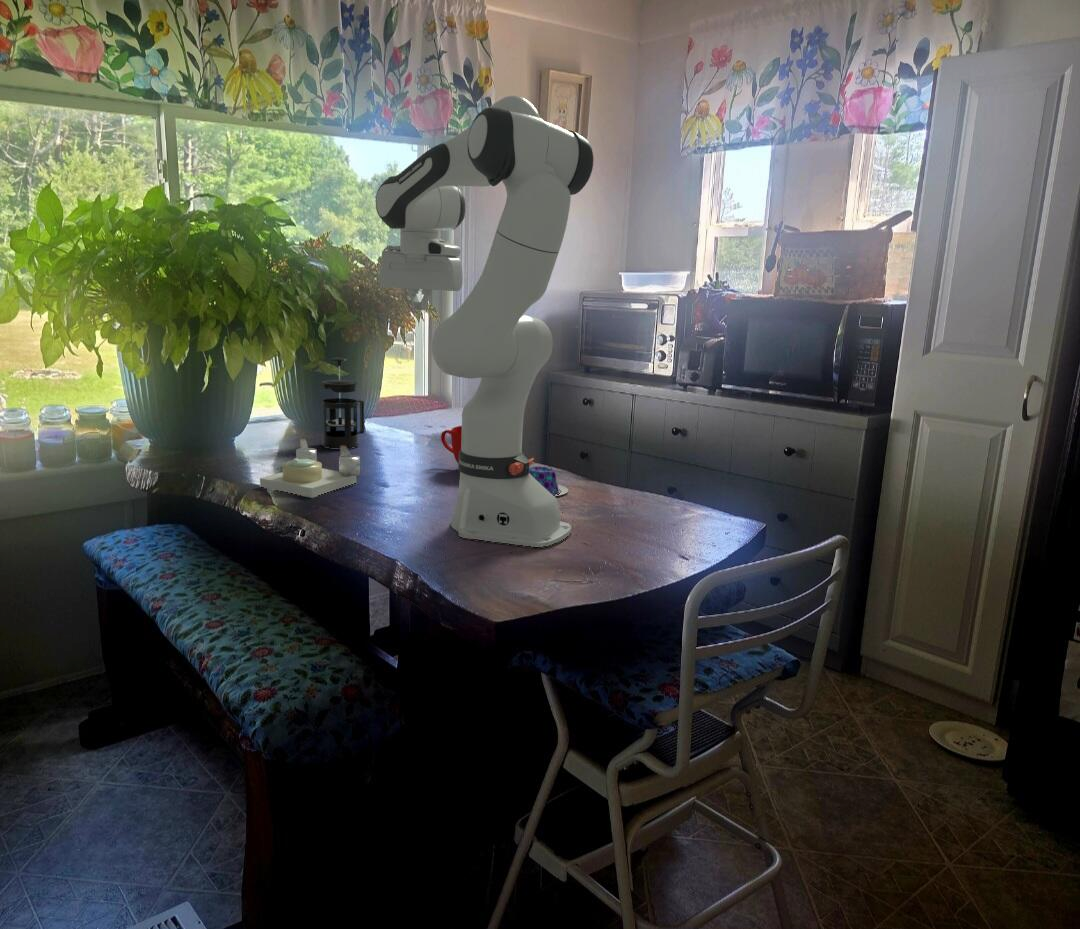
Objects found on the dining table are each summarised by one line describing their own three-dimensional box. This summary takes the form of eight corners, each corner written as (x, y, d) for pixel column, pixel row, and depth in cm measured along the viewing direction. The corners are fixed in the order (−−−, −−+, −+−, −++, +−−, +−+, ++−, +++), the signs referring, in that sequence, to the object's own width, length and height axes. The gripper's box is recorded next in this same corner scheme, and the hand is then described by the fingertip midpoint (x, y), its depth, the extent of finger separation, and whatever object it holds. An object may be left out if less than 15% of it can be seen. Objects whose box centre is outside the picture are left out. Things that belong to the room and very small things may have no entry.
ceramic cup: (456, 460, 202) (457, 420, 199) (515, 470, 194) (516, 429, 192) (425, 470, 190) (426, 428, 188) (486, 481, 183) (487, 438, 181)
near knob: (361, 475, 174) (361, 459, 173) (340, 476, 172) (340, 459, 172) (352, 460, 187) (352, 444, 187) (333, 460, 186) (333, 445, 185)
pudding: (531, 502, 169) (532, 478, 168) (503, 488, 179) (503, 465, 177) (578, 496, 175) (580, 472, 174) (548, 483, 185) (549, 460, 184)
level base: (356, 483, 176) (356, 455, 175) (312, 497, 164) (311, 467, 162) (306, 474, 182) (305, 446, 181) (260, 487, 170) (259, 458, 168)
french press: (329, 451, 205) (327, 360, 200) (313, 444, 212) (311, 356, 207) (371, 446, 212) (370, 359, 207) (354, 440, 219) (353, 355, 214)
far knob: (317, 467, 179) (317, 451, 178) (297, 468, 178) (296, 452, 177) (312, 453, 192) (312, 438, 192) (293, 453, 191) (293, 438, 190)
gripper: (373, 244, 180) (373, 307, 183) (451, 247, 172) (450, 313, 175) (390, 245, 186) (390, 307, 189) (467, 248, 177) (465, 312, 180)
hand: (419, 310), depth 182 cm, fingers closed
